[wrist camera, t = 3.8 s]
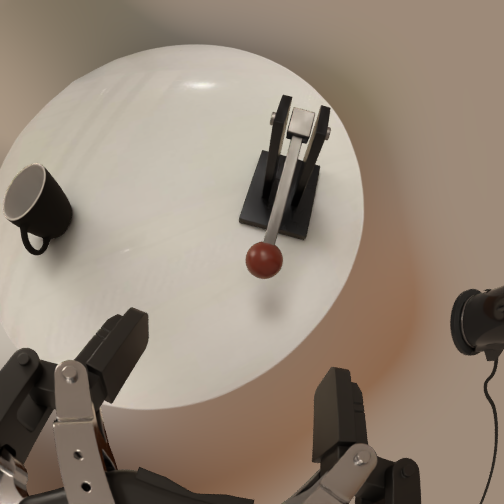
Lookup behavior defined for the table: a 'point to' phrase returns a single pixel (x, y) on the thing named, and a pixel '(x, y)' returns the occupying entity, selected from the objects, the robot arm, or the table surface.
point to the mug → (37, 206)
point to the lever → (280, 200)
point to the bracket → (271, 170)
